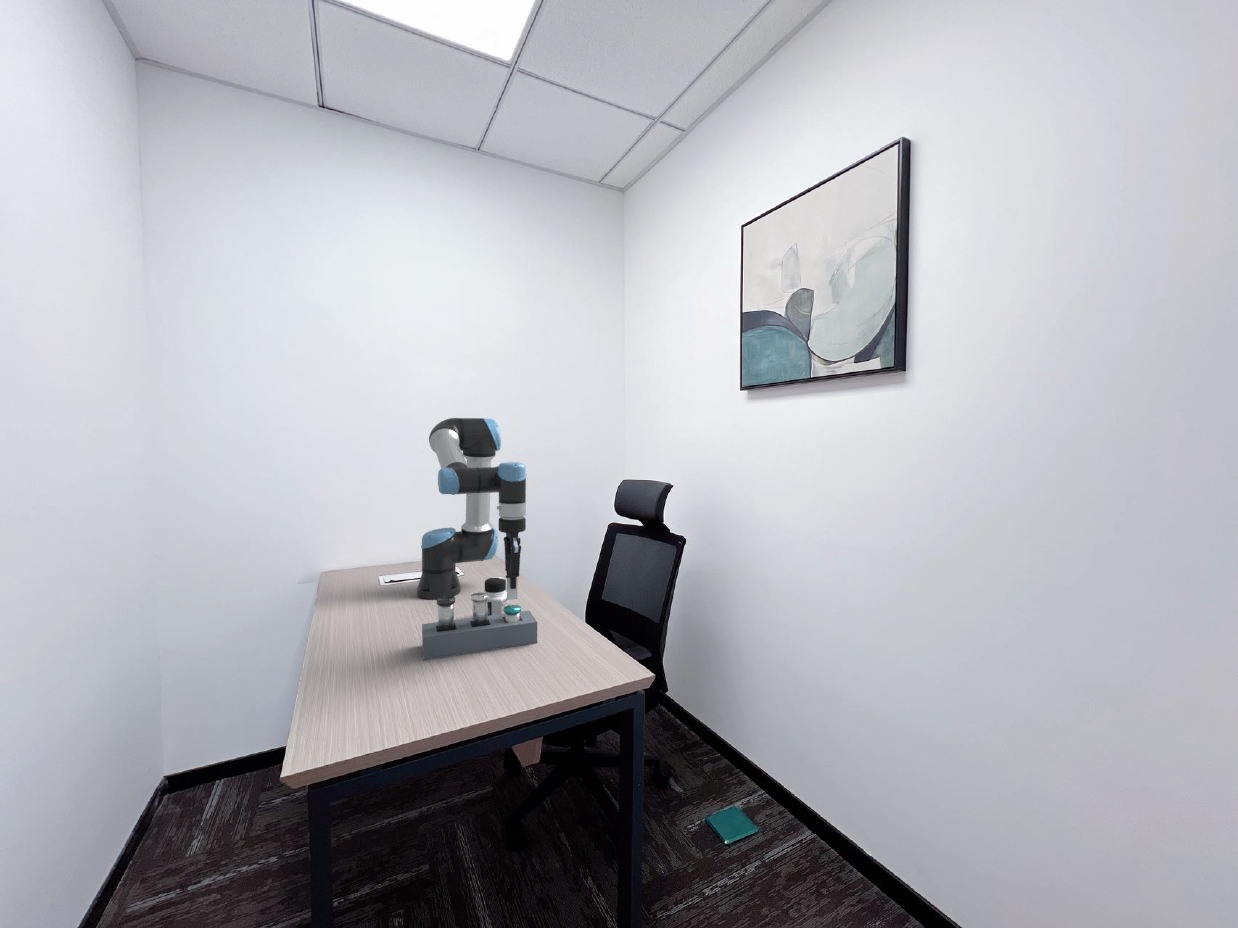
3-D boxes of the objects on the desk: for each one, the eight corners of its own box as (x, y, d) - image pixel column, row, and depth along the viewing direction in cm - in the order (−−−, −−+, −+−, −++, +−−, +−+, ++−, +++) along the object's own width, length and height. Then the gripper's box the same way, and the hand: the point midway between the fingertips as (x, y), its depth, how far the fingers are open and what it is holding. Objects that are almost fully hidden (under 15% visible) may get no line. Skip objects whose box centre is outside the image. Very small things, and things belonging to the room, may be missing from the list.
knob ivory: (470, 622, 142) (470, 593, 142) (487, 620, 144) (487, 591, 144) (472, 628, 138) (472, 598, 138) (490, 626, 140) (490, 596, 139)
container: (501, 624, 156) (501, 582, 155) (478, 622, 158) (478, 581, 157) (511, 615, 164) (511, 576, 163) (489, 613, 165) (489, 574, 165)
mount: (422, 645, 140) (422, 624, 140) (529, 629, 152) (529, 610, 152) (423, 660, 131) (423, 637, 131) (537, 642, 143) (537, 621, 142)
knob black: (436, 627, 139) (436, 597, 139) (454, 624, 141) (454, 595, 140) (437, 633, 135) (437, 602, 134) (456, 631, 136) (455, 600, 136)
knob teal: (502, 634, 146) (502, 606, 146) (519, 632, 148) (519, 604, 148) (505, 640, 142) (505, 611, 141) (522, 638, 144) (522, 609, 143)
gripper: (495, 514, 147) (495, 593, 149) (502, 522, 136) (502, 607, 137) (520, 512, 150) (520, 590, 152) (530, 520, 138) (530, 604, 140)
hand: (512, 598), depth 145 cm, fingers closed
